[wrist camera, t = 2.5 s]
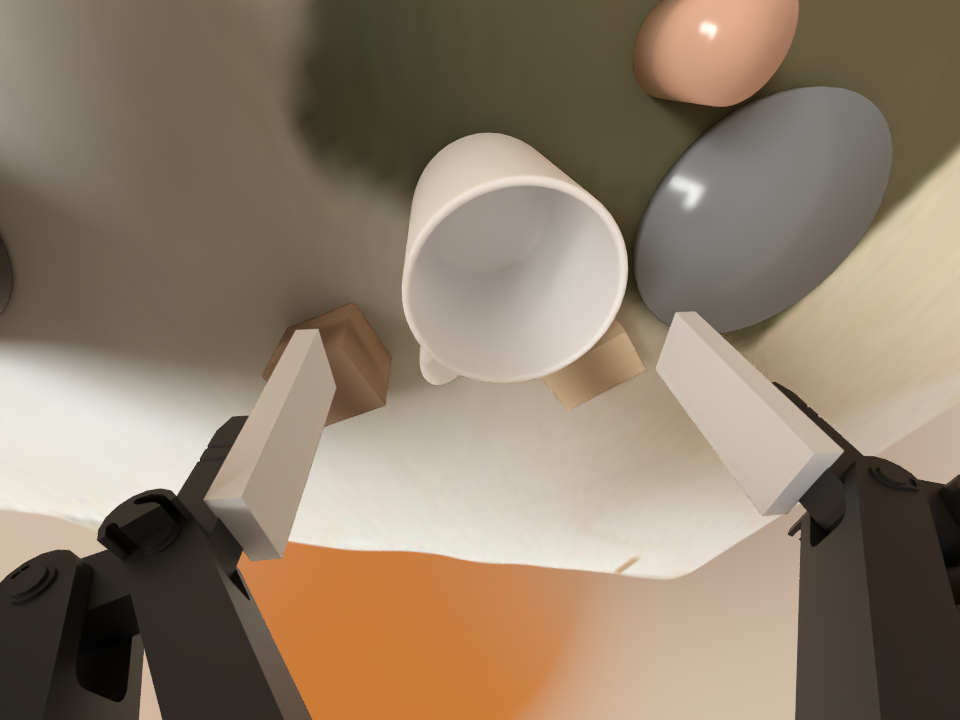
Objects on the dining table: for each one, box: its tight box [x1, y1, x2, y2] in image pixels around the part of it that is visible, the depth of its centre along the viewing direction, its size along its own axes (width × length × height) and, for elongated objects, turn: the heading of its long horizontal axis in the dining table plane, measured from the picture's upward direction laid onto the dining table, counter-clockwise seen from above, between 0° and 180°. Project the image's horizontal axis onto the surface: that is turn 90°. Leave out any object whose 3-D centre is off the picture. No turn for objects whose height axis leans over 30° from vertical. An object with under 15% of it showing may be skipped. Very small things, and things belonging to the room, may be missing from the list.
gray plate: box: [633, 86, 893, 333], centre depth 24 cm, size 15×15×1 cm
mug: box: [402, 133, 628, 385], centre depth 19 cm, size 12×8×10 cm
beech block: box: [541, 318, 646, 411], centre depth 27 cm, size 6×4×4 cm, turn 124°
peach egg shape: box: [633, 0, 799, 107], centre depth 16 cm, size 4×4×5 cm
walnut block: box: [262, 302, 391, 427], centre depth 24 cm, size 5×5×5 cm
